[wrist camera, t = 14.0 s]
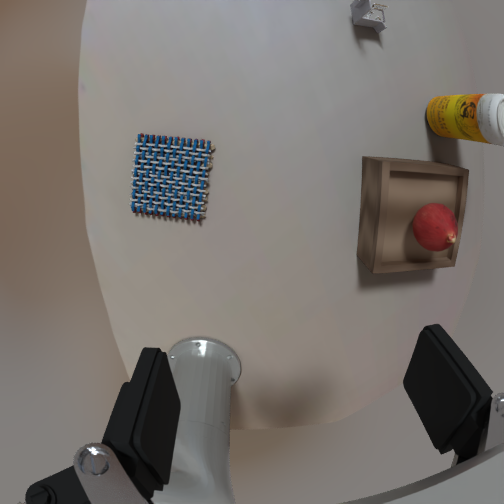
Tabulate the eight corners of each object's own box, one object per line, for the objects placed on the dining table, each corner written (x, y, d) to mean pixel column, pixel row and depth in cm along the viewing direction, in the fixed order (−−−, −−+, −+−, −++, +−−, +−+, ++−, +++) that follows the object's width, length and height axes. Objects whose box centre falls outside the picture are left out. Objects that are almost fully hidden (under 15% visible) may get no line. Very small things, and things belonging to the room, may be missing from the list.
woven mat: (131, 210, 39) (126, 214, 37) (138, 133, 35) (133, 133, 33) (205, 220, 40) (203, 225, 38) (216, 140, 36) (215, 141, 34)
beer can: (423, 92, 33) (495, 86, 19) (453, 101, 33) (525, 102, 19) (423, 132, 35) (495, 142, 21) (453, 139, 35) (524, 152, 21)
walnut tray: (433, 250, 42) (454, 266, 36) (356, 254, 42) (372, 273, 36) (443, 163, 36) (468, 169, 31) (362, 156, 36) (382, 161, 30)
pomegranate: (426, 187, 33) (464, 203, 25) (442, 221, 35) (477, 242, 27) (394, 214, 34) (428, 235, 27) (412, 247, 36) (444, 273, 29)
